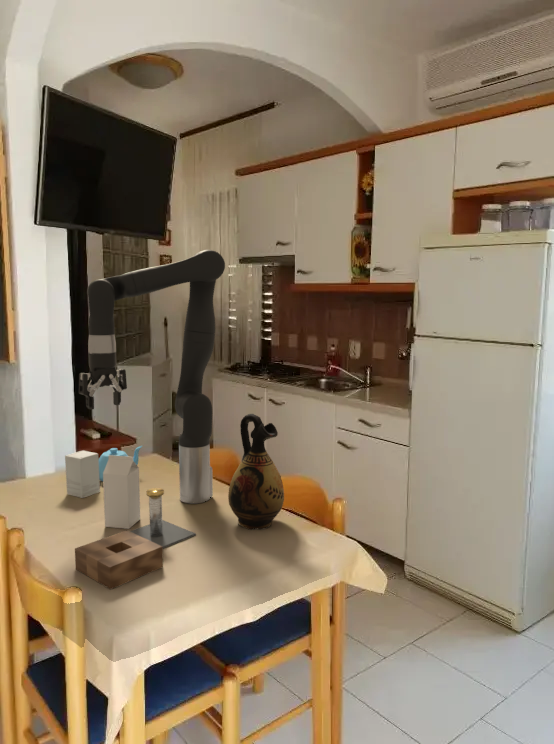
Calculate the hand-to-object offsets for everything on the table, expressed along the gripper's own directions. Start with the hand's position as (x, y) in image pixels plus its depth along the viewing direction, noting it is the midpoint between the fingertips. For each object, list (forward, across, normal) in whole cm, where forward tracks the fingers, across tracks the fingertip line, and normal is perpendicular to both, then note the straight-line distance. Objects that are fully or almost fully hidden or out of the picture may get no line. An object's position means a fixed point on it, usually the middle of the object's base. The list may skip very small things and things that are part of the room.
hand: (103, 407), depth 171 cm
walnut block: (+30, +20, +35) cm, 50 cm away
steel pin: (+30, +3, +27) cm, 40 cm away
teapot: (+30, -18, -22) cm, 41 cm away
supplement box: (+30, -3, -17) cm, 35 cm away
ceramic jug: (+30, -21, +40) cm, 54 cm away
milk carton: (+30, +4, +13) cm, 33 cm away
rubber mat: (+30, +3, +27) cm, 41 cm away
